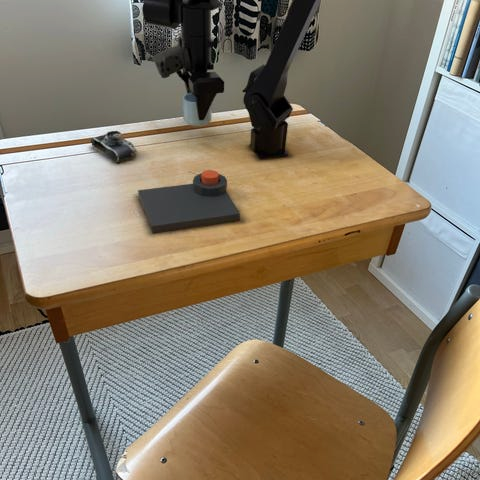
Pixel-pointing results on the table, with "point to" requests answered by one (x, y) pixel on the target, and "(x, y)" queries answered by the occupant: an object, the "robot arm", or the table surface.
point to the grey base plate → (188, 205)
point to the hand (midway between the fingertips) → (197, 114)
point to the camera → (114, 146)
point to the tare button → (210, 177)
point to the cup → (194, 112)
